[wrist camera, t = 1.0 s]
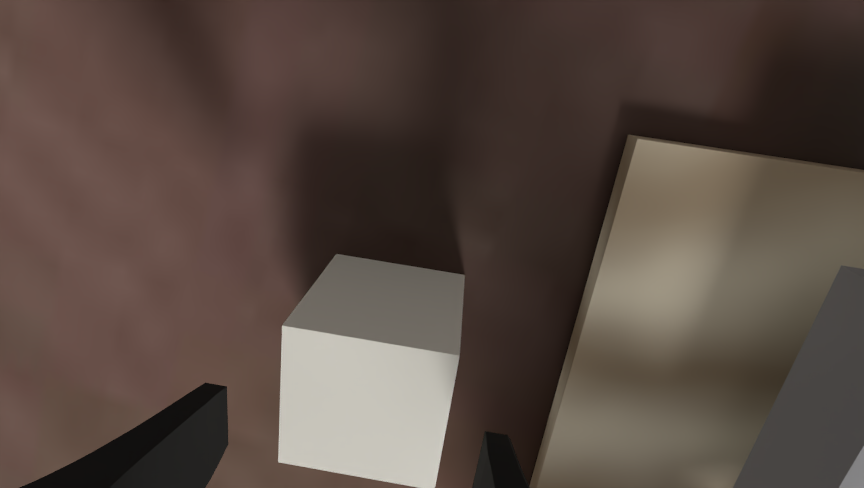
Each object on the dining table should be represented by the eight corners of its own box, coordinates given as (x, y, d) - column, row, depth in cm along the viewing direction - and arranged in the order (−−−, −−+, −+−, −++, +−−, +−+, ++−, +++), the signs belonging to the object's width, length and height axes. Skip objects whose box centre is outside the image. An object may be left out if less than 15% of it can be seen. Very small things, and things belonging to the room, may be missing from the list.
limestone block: (445, 381, 20) (434, 490, 15) (328, 361, 20) (278, 462, 15) (464, 274, 18) (459, 355, 13) (336, 253, 18) (282, 325, 13)
